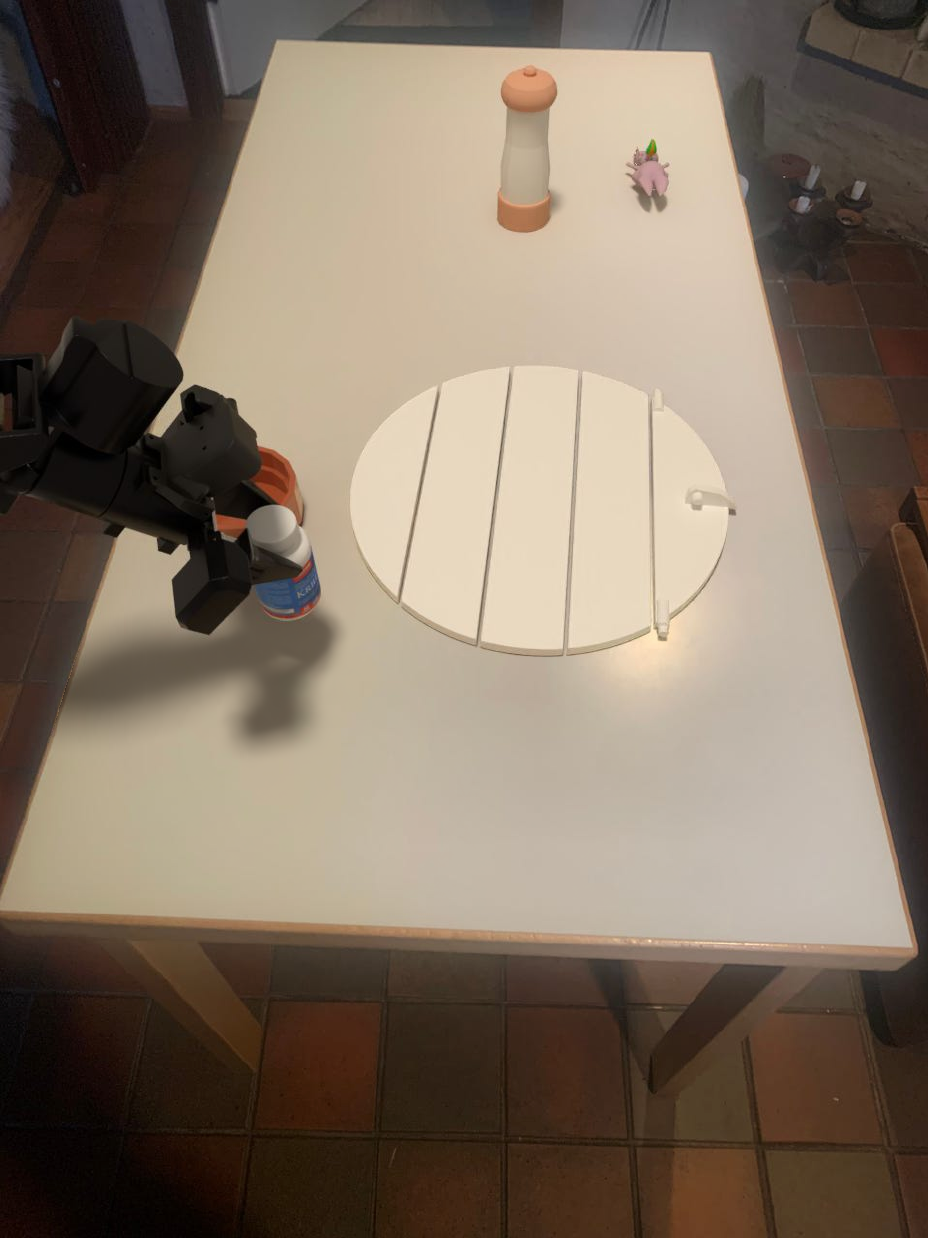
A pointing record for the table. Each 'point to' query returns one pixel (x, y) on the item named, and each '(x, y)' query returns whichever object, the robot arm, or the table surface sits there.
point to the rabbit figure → (649, 170)
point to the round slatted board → (539, 510)
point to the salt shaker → (526, 150)
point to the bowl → (269, 490)
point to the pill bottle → (288, 540)
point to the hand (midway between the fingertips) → (294, 545)
